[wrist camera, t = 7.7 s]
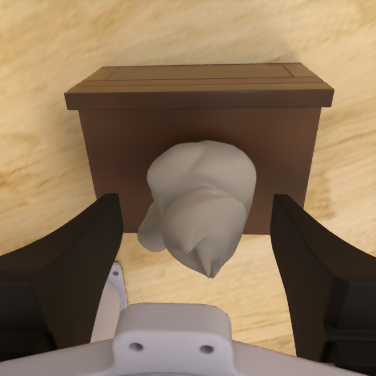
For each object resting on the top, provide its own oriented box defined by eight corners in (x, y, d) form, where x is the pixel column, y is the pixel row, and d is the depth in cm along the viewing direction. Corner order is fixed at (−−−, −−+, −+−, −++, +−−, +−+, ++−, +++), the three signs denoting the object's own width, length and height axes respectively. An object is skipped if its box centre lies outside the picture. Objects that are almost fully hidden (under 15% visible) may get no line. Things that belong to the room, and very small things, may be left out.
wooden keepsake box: (283, 192, 24) (303, 248, 19) (121, 191, 25) (97, 245, 20) (300, 62, 19) (335, 89, 14) (102, 66, 20) (63, 93, 15)
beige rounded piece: (274, 178, 18) (314, 295, 11) (182, 235, 20) (168, 360, 13) (213, 101, 16) (215, 185, 9) (119, 175, 18) (65, 285, 11)
